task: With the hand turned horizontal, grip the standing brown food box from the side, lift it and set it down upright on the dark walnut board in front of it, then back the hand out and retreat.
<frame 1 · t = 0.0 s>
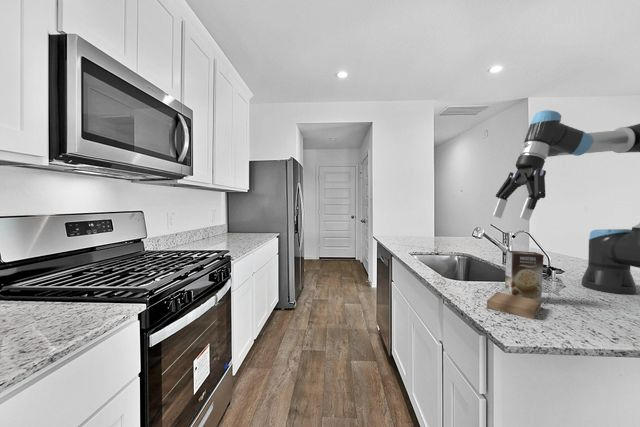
hand: (509, 218, 98), 28 cm above the countertop, tool tilted 20°, fingers open, 13 cm apart
walnut board: (513, 308, 91), on the countertop
brown food box: (522, 299, 100), on the countertop
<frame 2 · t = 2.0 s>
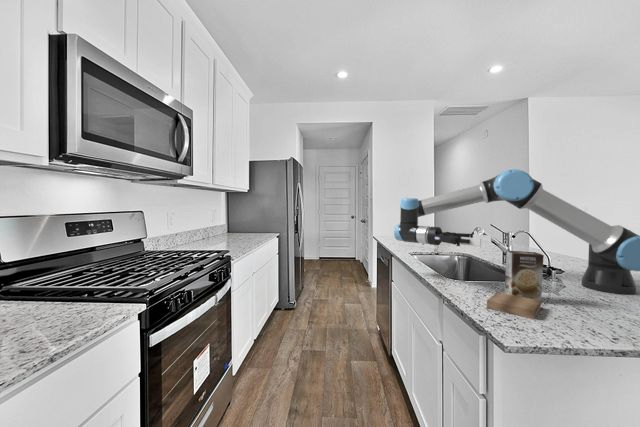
hand: (486, 240, 108), 19 cm above the countertop, tool horizontal, fingers open, 13 cm apart
nothing on the countertop moved.
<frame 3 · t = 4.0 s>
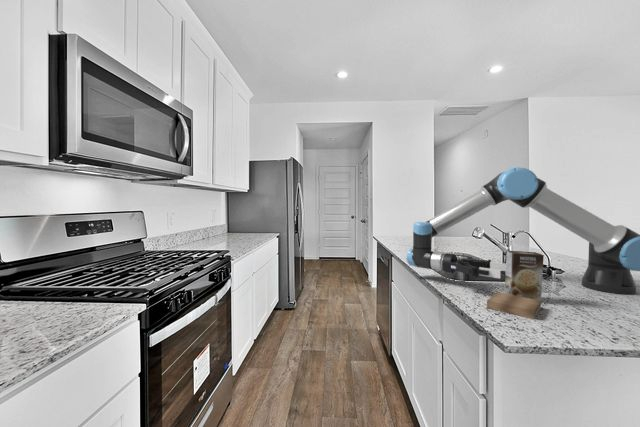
hand: (505, 271, 103), 9 cm above the countertop, tool horizontal, fingers open, 13 cm apart
nothing on the countertop moved.
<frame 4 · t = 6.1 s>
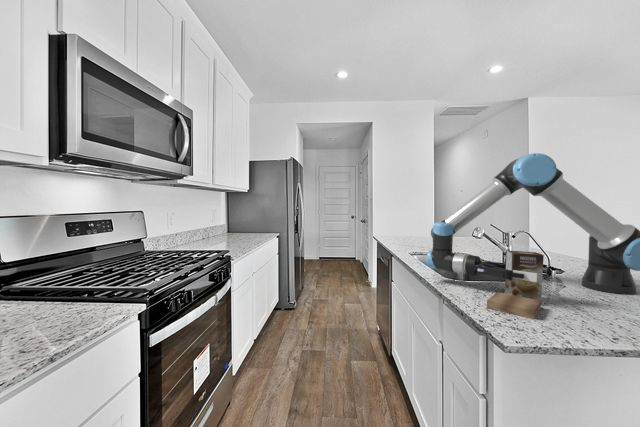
hand: (539, 275, 97), 9 cm above the countertop, tool horizontal, fingers closed on brown food box, 9 cm apart
brown food box: (522, 299, 100), on the countertop, touching gripper
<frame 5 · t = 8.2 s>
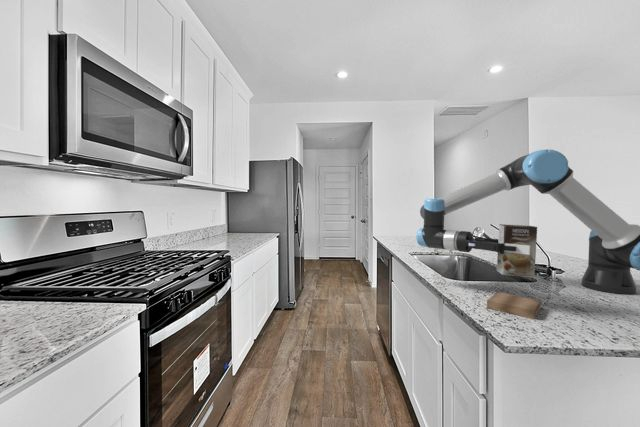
hand: (532, 248, 92), 19 cm above the countertop, tool horizontal, fingers closed on brown food box, 9 cm apart
brown food box: (515, 274, 96), point 9 cm above the countertop, touching gripper
when the fingers open (13 cm above the countertop, at t = 10.3 s): brown food box drops 1 cm, resting on walnut board.
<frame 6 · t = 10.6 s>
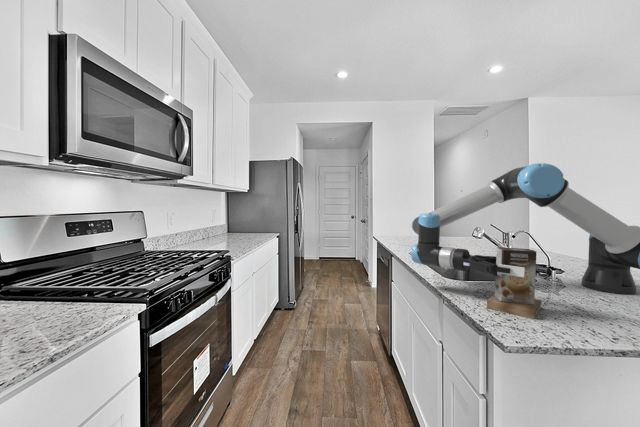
hand: (528, 268, 88), 13 cm above the countertop, tool horizontal, fingers open, 12 cm apart
brown food box: (513, 300, 91), point 2 cm above the countertop, touching walnut board
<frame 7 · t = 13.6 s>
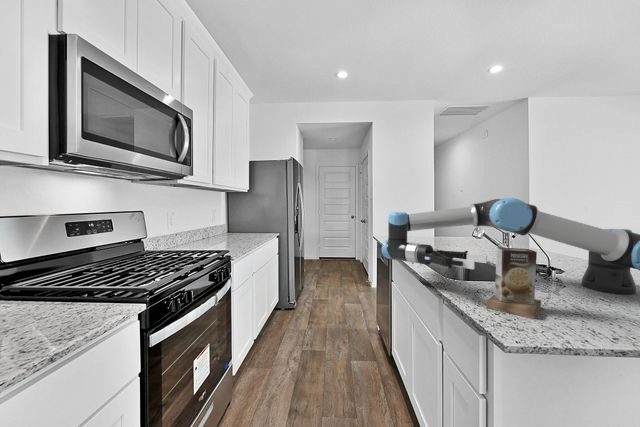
hand: (481, 262, 97), 13 cm above the countertop, tool horizontal, fingers open, 13 cm apart
nothing on the countertop moved.
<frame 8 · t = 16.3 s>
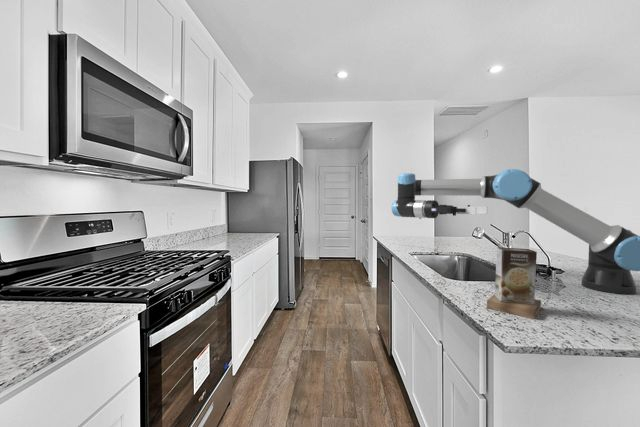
hand: (481, 210, 110), 30 cm above the countertop, tool horizontal, fingers open, 13 cm apart
nothing on the countertop moved.
at the end: brown food box inside the target area on the walnut board (0.1 cm from its centre), point 2.3 cm above the walnut board's base; brown food box tilted 0°; the gripper is holding nothing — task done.
